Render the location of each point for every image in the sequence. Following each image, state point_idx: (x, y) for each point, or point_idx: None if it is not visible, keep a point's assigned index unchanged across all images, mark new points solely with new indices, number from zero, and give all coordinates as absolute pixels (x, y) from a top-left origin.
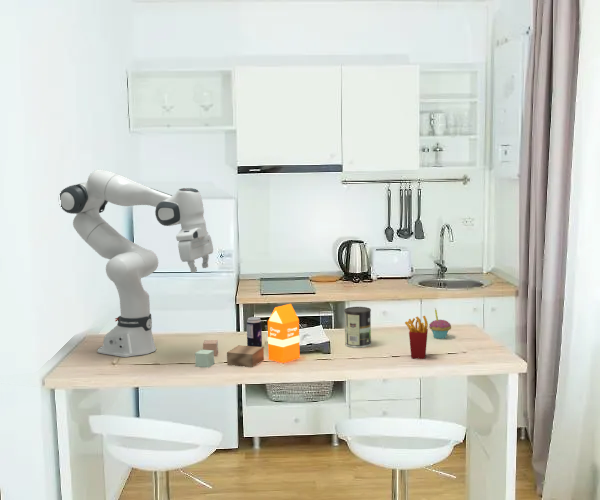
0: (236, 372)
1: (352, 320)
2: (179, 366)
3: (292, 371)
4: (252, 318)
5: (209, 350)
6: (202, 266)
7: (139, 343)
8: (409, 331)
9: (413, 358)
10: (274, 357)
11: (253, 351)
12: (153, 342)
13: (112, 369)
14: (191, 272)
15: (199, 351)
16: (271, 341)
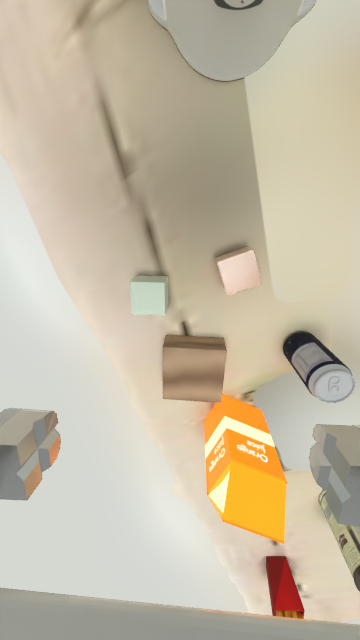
0: (128, 367)
1: (347, 553)
2: (125, 239)
3: (162, 443)
4: (337, 382)
5: (161, 305)
6: (326, 434)
7: (187, 21)
8: (281, 609)
9: (266, 558)
10: (214, 409)
11: (184, 394)
12: (249, 52)
13: (37, 57)
14: (12, 410)
15: (146, 286)
16: (220, 428)
